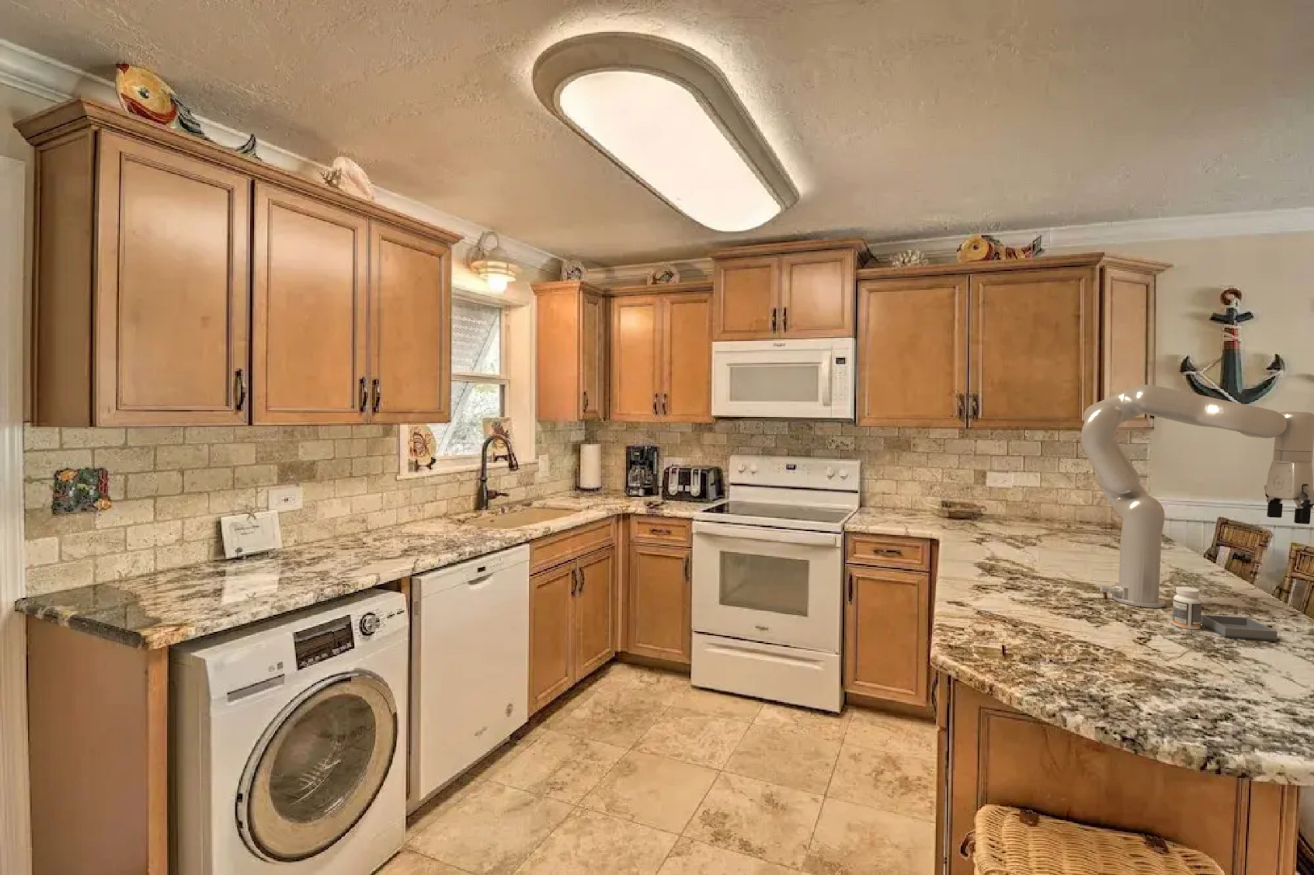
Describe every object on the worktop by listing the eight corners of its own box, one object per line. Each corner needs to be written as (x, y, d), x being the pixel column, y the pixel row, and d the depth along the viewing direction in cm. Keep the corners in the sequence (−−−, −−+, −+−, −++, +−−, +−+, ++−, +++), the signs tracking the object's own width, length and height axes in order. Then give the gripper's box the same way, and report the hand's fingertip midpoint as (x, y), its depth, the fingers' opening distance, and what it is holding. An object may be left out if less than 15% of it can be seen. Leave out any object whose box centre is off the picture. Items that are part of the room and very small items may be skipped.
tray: (1224, 637, 159) (1225, 627, 159) (1199, 623, 170) (1199, 614, 169) (1276, 641, 157) (1277, 631, 157) (1247, 626, 167) (1247, 617, 167)
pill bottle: (1194, 624, 169) (1196, 587, 169) (1204, 631, 164) (1206, 592, 163) (1168, 621, 171) (1170, 584, 170) (1177, 628, 166) (1179, 590, 165)
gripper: (1253, 454, 182) (1249, 514, 183) (1301, 459, 165) (1296, 525, 166) (1284, 455, 181) (1279, 515, 182) (1335, 460, 164) (1330, 527, 165)
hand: (1287, 520), depth 174 cm, fingers open, 9 cm apart
